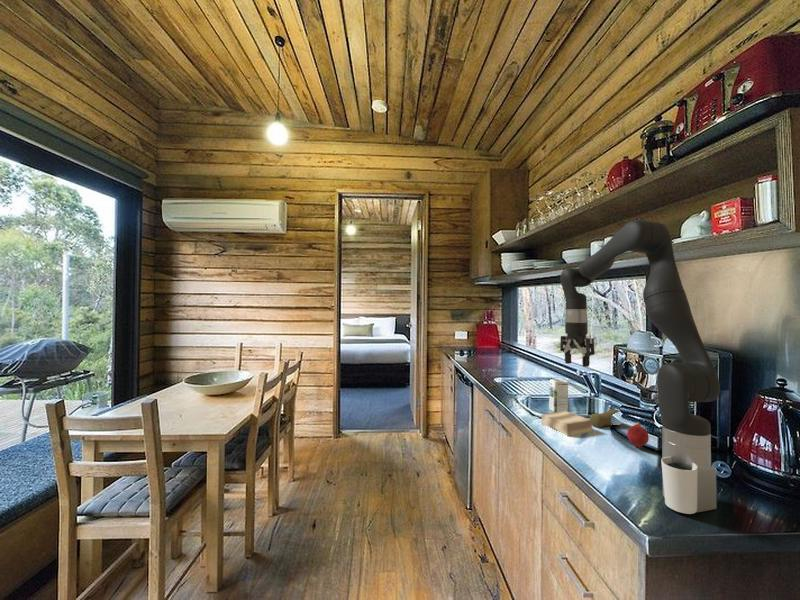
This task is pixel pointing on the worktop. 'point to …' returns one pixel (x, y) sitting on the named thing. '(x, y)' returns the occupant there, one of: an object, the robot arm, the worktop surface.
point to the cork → (602, 418)
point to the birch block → (567, 423)
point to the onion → (637, 435)
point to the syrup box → (558, 395)
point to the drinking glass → (680, 486)
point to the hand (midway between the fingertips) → (576, 365)
